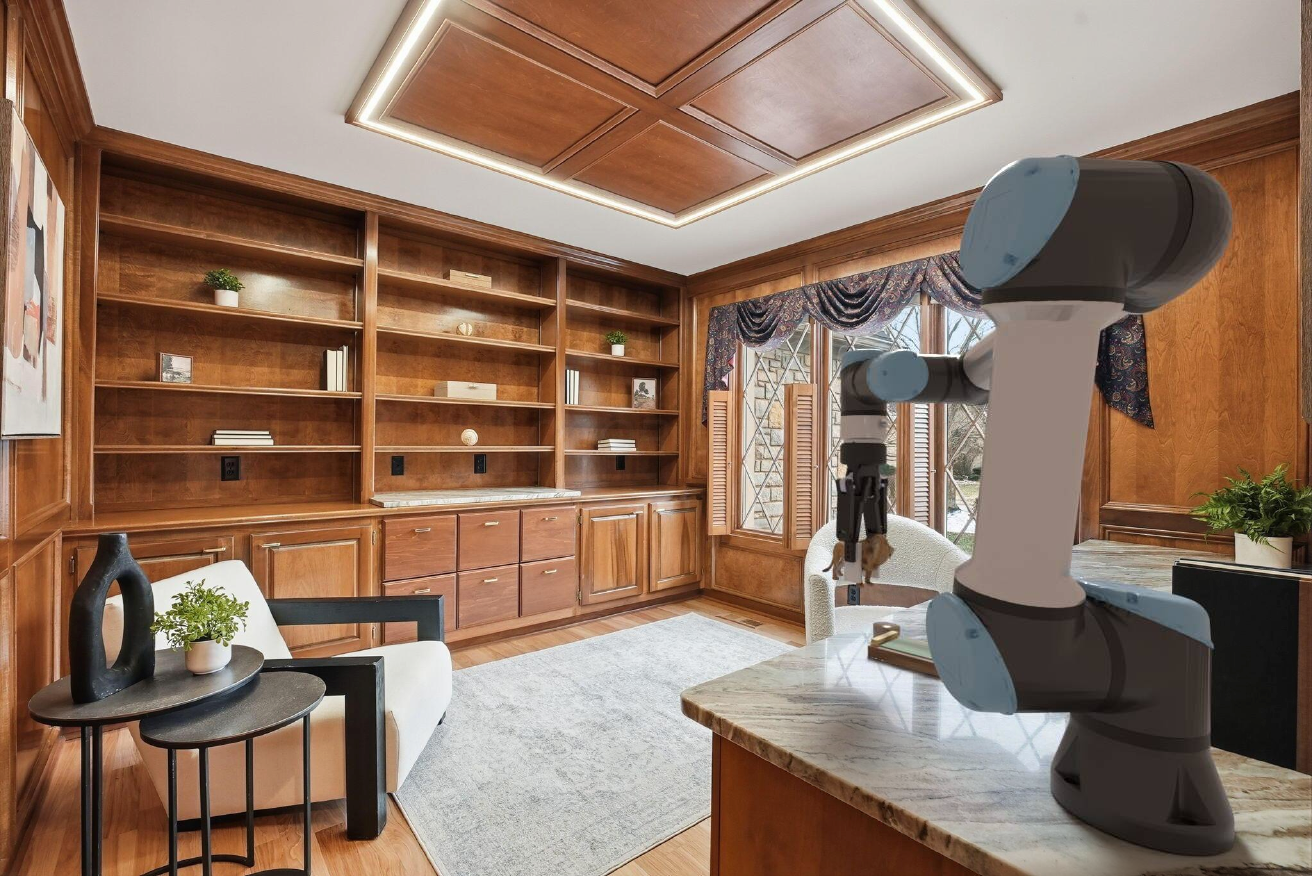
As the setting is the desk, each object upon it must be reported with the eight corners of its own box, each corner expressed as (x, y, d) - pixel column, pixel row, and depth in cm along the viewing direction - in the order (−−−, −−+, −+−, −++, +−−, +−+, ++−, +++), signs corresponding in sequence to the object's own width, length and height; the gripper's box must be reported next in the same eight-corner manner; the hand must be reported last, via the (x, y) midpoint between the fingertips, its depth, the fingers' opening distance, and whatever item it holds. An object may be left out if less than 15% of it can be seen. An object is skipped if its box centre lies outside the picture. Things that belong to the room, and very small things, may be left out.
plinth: (993, 691, 96) (993, 672, 97) (867, 656, 112) (867, 640, 112) (1015, 676, 103) (1015, 658, 103) (893, 645, 119) (894, 629, 119)
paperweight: (892, 646, 118) (892, 630, 118) (868, 640, 122) (868, 625, 122) (904, 641, 122) (904, 625, 122) (880, 635, 125) (880, 620, 125)
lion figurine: (898, 590, 102) (899, 535, 102) (875, 593, 100) (877, 536, 100) (832, 573, 115) (833, 524, 115) (810, 575, 112) (812, 525, 113)
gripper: (855, 440, 97) (854, 590, 96) (909, 443, 109) (908, 576, 109) (813, 440, 102) (812, 582, 102) (869, 443, 115) (868, 569, 114)
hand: (862, 579), depth 105 cm, fingers closed on lion figurine, 5 cm apart
